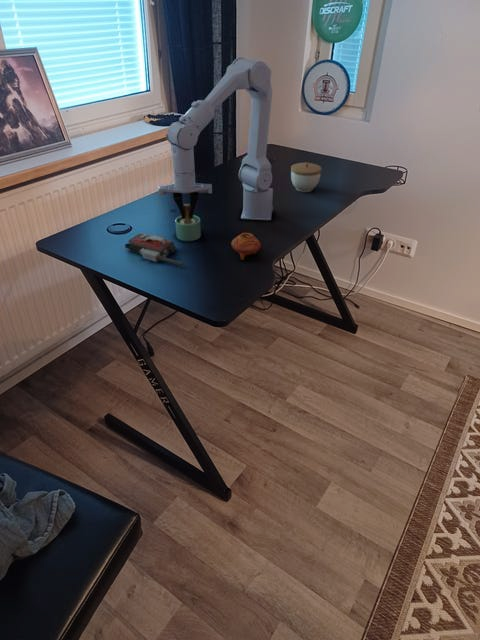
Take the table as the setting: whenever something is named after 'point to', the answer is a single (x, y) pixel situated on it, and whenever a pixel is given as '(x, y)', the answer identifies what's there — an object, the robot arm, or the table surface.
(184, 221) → the rubber stamp
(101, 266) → the table surface
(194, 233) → the bucket
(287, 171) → the table surface
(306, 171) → the trinket box
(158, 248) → the red grey blocky piece
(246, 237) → the pot
